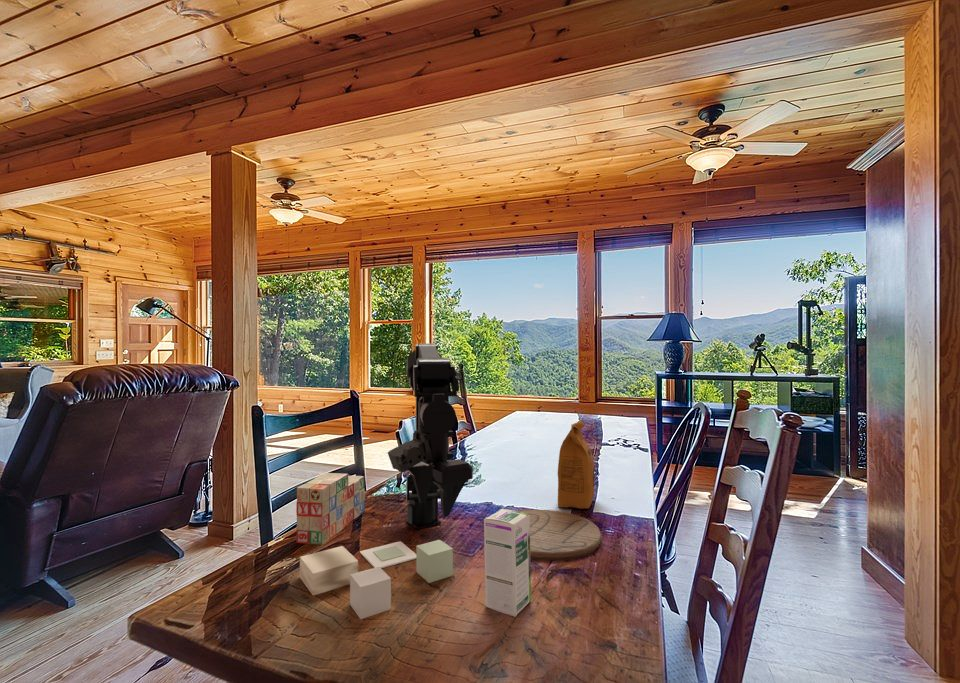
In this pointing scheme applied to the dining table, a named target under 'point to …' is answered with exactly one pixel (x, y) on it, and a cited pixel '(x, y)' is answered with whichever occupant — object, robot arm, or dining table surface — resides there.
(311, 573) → the birch base block
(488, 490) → the dining table surface
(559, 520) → the trivet
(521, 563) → the syrup box
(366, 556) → the card
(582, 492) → the coffee package
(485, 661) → the dining table surface
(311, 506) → the stack of blocks
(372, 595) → the grey block
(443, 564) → the sage block
